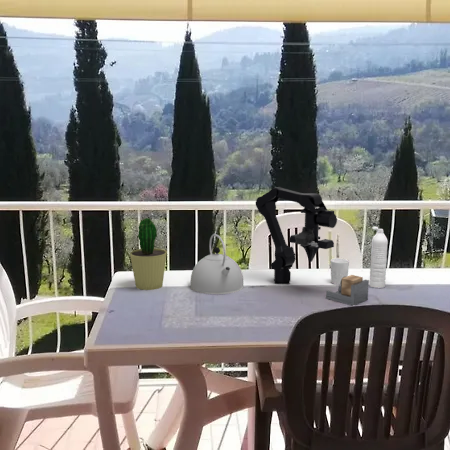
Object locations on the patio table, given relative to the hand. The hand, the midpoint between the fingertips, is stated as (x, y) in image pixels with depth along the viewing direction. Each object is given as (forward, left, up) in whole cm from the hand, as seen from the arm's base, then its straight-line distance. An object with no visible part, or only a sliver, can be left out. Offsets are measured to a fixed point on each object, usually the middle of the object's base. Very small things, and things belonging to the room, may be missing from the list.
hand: (310, 261), depth 229 cm
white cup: (+14, +10, -12) cm, 21 cm away
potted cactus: (-68, +5, -12) cm, 69 cm away
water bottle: (+29, +6, -12) cm, 32 cm away
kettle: (-38, +4, -12) cm, 40 cm away
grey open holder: (+13, -13, -12) cm, 22 cm away
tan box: (+14, -14, -11) cm, 22 cm away
